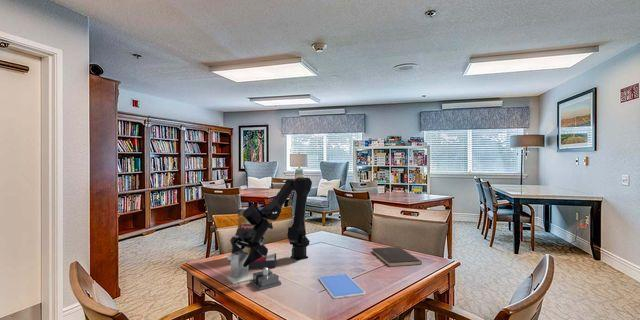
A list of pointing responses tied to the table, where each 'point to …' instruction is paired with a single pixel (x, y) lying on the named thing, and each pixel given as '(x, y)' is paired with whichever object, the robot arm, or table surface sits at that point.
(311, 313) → the table surface
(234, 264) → the grey stepped block
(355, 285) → the tablet computer
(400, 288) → the table surface
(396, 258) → the hardcover book
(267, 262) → the calculator
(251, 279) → the pad
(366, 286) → the table surface
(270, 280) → the vise
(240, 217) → the blue food box
